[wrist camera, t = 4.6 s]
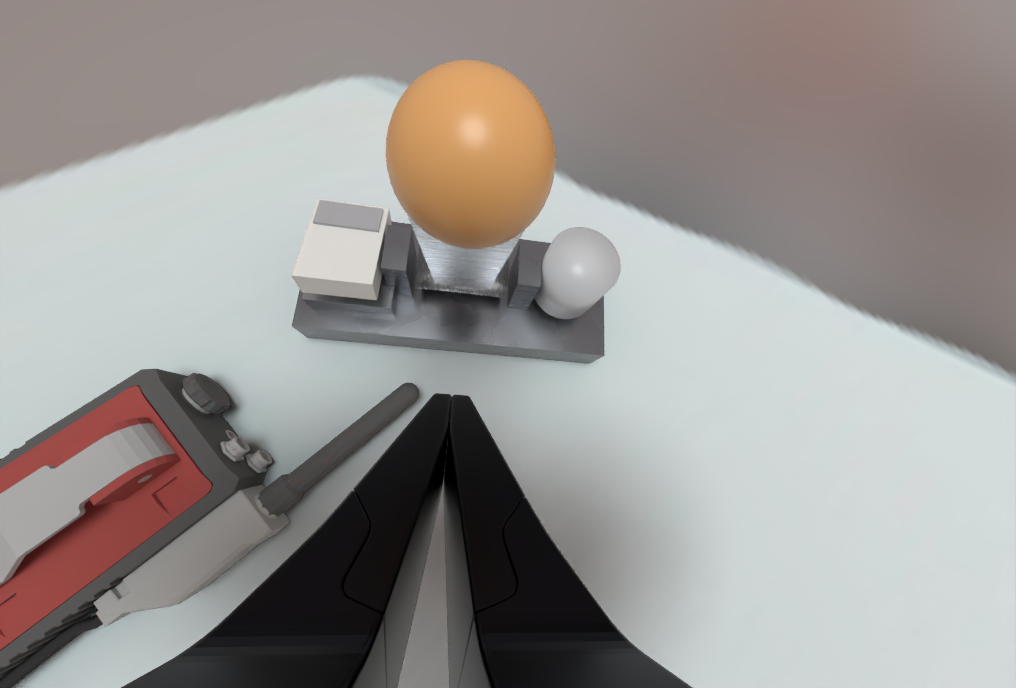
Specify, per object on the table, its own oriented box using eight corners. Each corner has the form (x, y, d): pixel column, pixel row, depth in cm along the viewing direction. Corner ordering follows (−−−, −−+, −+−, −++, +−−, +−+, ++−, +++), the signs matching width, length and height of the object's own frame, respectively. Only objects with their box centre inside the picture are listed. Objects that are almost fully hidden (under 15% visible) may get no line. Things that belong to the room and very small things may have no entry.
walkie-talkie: (1, 763, 14) (432, 405, 19) (-201, 910, 9) (427, 396, 15) (-120, 573, 14) (328, 282, 20) (-359, 629, 10) (296, 240, 16)
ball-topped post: (500, 309, 18) (601, 237, 5) (419, 301, 18) (317, 197, 5) (506, 250, 18) (620, 38, 5) (425, 239, 18) (338, -25, 5)
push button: (593, 322, 18) (621, 300, 15) (530, 315, 18) (546, 291, 15) (593, 263, 19) (619, 232, 16) (533, 256, 19) (548, 222, 16)
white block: (377, 300, 16) (371, 282, 14) (301, 292, 15) (289, 273, 14) (392, 227, 17) (388, 206, 16) (324, 218, 17) (316, 195, 16)
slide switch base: (589, 363, 21) (632, 340, 16) (307, 337, 19) (259, 302, 14) (589, 266, 22) (628, 219, 17) (329, 233, 20) (292, 169, 15)
